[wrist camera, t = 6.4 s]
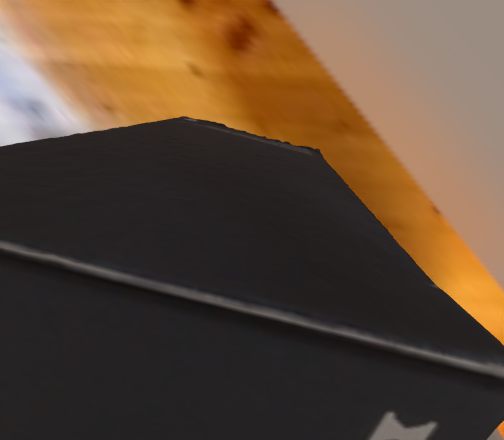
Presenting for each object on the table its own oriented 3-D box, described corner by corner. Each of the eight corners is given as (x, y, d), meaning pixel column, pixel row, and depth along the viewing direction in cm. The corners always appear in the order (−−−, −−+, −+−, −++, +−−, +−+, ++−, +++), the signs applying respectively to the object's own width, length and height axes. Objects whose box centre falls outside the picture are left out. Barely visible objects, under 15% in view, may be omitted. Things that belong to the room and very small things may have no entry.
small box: (170, 108, 11) (-395, 134, 2) (325, 149, 12) (617, 374, 2) (145, 311, 15) (-64, 666, 6) (260, 337, 16) (251, 717, 6)
